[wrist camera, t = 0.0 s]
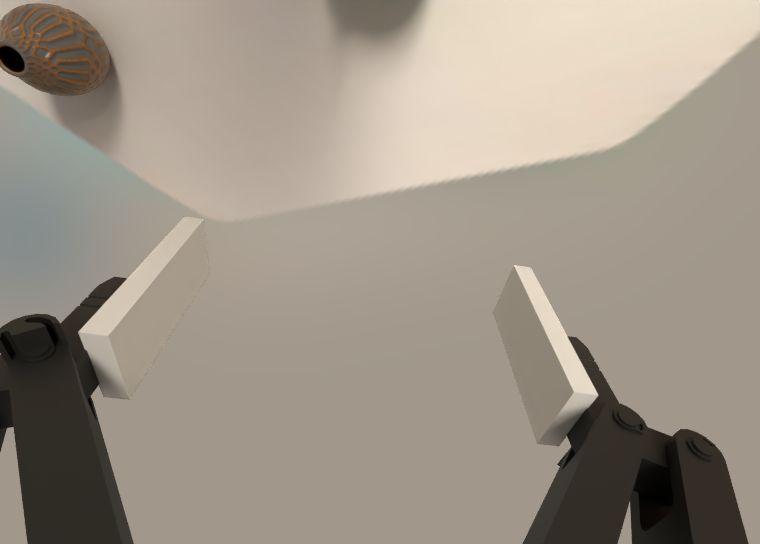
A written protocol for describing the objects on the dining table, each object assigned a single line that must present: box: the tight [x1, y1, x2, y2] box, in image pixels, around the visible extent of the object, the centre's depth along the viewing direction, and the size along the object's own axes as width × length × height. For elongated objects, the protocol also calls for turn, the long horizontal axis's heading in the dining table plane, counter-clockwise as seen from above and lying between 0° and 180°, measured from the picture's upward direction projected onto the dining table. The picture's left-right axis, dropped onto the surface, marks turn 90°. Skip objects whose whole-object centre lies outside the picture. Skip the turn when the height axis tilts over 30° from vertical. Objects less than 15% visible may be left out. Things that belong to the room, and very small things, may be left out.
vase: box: [0, 3, 110, 96], centre depth 33 cm, size 7×7×9 cm
